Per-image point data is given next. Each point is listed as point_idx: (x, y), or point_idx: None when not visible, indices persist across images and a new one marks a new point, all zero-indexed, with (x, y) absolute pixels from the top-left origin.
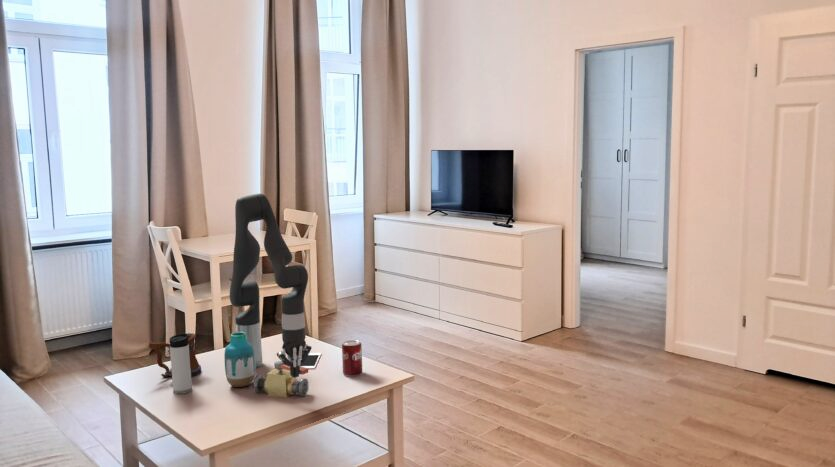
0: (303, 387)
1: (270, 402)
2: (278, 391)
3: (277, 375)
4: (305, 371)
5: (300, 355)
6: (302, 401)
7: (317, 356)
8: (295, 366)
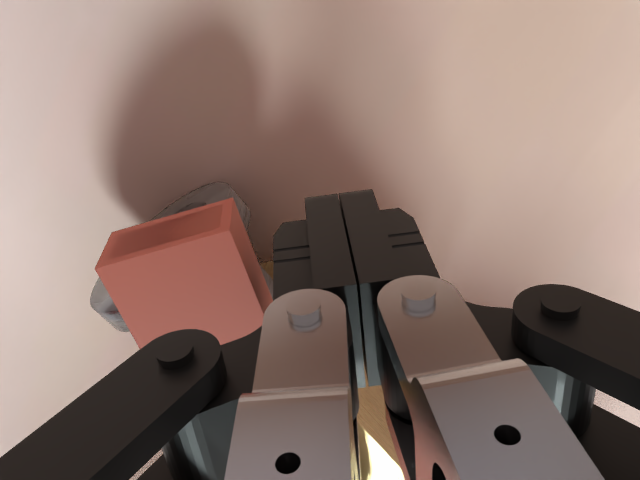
0: None
1: (456, 259)
2: None
3: (389, 450)
4: (168, 232)
5: (278, 464)
6: (248, 109)
7: None
8: (397, 284)
